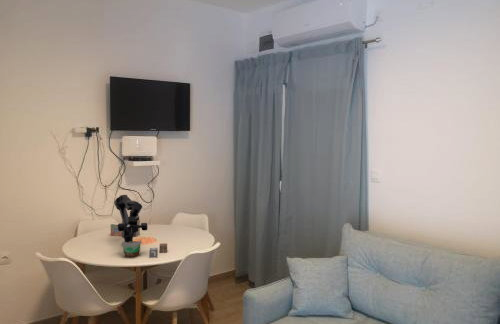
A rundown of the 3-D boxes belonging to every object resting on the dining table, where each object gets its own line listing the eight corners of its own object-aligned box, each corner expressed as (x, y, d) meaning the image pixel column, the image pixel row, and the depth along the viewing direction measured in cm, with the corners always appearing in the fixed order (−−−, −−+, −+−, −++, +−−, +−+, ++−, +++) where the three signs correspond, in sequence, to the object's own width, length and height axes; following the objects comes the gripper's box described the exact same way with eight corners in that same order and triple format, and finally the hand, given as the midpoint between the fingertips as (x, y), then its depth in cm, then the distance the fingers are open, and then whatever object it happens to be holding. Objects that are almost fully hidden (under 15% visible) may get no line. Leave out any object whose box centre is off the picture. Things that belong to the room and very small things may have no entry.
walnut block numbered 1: (159, 250, 255) (159, 243, 255) (167, 250, 256) (167, 243, 256) (159, 253, 250) (159, 245, 250) (166, 252, 251) (167, 245, 251)
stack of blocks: (110, 235, 288) (110, 220, 288) (114, 233, 295) (114, 218, 294) (136, 237, 286) (136, 221, 285) (140, 235, 293) (140, 219, 292)
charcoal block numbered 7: (149, 255, 245) (149, 247, 245) (157, 254, 246) (157, 247, 246) (149, 257, 240) (149, 250, 240) (157, 257, 241) (157, 249, 241)
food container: (121, 258, 237) (121, 243, 237) (122, 255, 243) (122, 240, 243) (141, 257, 240) (141, 242, 239) (141, 254, 246) (141, 239, 245)
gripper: (118, 211, 244) (115, 232, 234) (147, 211, 248) (145, 231, 238) (119, 220, 252) (117, 240, 242) (148, 219, 256) (146, 240, 246)
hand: (131, 238), depth 242 cm, fingers closed
